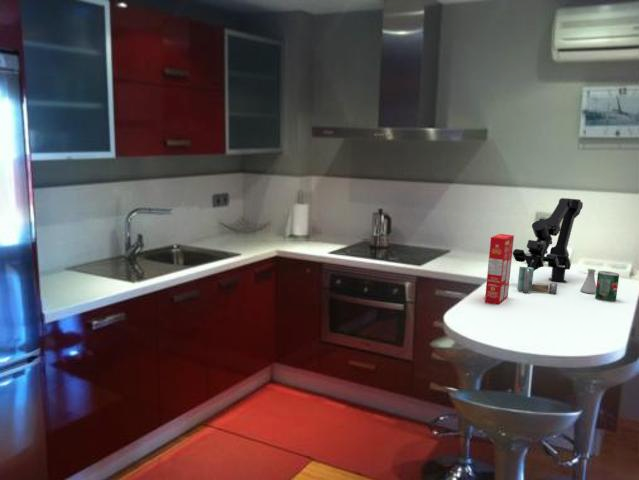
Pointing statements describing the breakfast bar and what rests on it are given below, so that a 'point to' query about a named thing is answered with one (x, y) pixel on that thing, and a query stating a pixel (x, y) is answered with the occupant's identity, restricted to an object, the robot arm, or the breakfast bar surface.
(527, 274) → the post
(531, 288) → the gate
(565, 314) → the breakfast bar surface
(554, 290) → the hinge post
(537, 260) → the robot arm
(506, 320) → the breakfast bar surface
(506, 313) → the breakfast bar surface
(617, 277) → the canned tomato
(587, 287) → the flask
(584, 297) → the breakfast bar surface
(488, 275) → the food packaging
